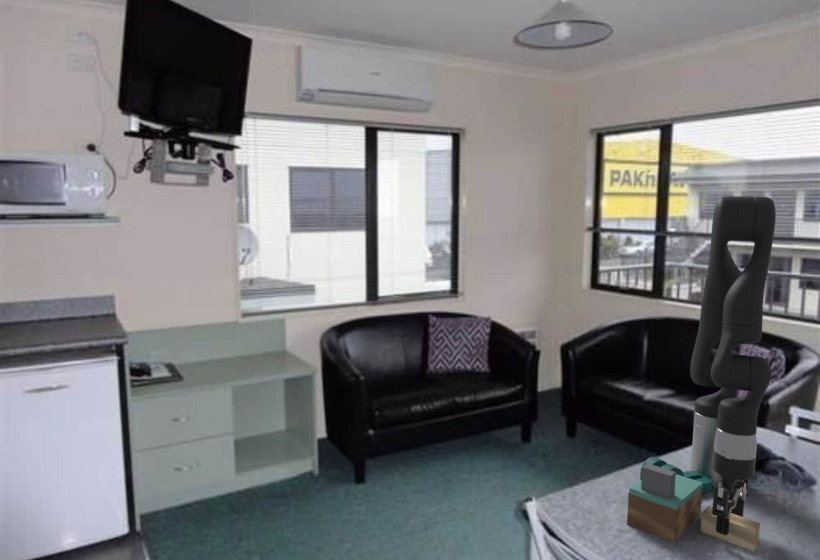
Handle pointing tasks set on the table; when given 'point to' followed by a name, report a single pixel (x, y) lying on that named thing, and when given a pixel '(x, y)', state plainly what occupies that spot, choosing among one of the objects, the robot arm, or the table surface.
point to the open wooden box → (663, 516)
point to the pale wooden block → (733, 529)
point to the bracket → (681, 473)
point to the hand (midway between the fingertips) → (729, 525)
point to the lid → (665, 487)
